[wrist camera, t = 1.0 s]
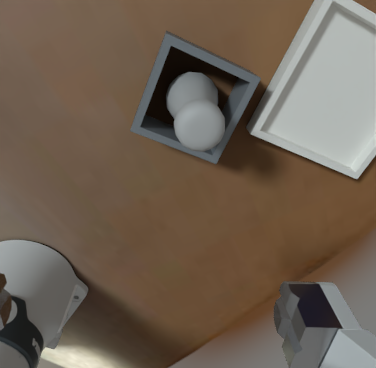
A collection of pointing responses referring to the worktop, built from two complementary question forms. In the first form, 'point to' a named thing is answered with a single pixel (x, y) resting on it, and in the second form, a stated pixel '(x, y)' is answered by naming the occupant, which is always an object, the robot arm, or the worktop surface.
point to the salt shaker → (195, 111)
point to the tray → (325, 90)
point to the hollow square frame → (230, 111)
